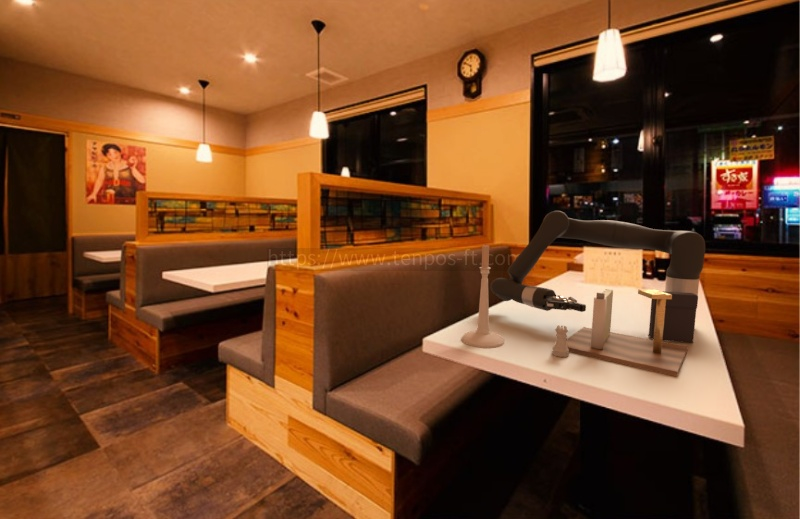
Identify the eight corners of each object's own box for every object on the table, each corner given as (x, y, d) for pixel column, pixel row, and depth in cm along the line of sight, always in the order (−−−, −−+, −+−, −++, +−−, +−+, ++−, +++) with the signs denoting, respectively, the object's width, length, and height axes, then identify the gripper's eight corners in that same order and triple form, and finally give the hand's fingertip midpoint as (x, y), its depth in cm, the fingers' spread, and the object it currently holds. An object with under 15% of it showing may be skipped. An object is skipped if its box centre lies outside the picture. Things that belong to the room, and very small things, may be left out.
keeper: (633, 348, 110) (638, 289, 108) (651, 348, 110) (656, 289, 108) (647, 357, 103) (652, 294, 101) (666, 358, 103) (672, 294, 101)
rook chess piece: (567, 358, 102) (569, 330, 101) (550, 355, 105) (551, 327, 104) (570, 353, 106) (571, 326, 105) (553, 350, 108) (554, 323, 108)
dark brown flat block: (688, 339, 118) (692, 292, 117) (693, 344, 114) (698, 295, 113) (647, 335, 122) (651, 290, 120) (651, 340, 118) (655, 292, 116)
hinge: (602, 349, 105) (606, 294, 103) (589, 347, 107) (593, 293, 105) (612, 333, 119) (615, 285, 117) (600, 332, 121) (604, 284, 119)
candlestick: (456, 343, 114) (458, 244, 111) (469, 332, 126) (471, 241, 122) (498, 350, 108) (502, 246, 105) (508, 338, 120) (512, 243, 116)
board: (583, 330, 127) (583, 327, 127) (687, 350, 109) (687, 346, 109) (558, 349, 110) (558, 345, 110) (676, 376, 91) (677, 371, 91)
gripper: (526, 288, 129) (572, 299, 115) (551, 285, 136) (597, 294, 122) (525, 310, 130) (570, 323, 116) (549, 305, 137) (595, 317, 123)
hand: (584, 308), depth 119 cm, fingers closed
